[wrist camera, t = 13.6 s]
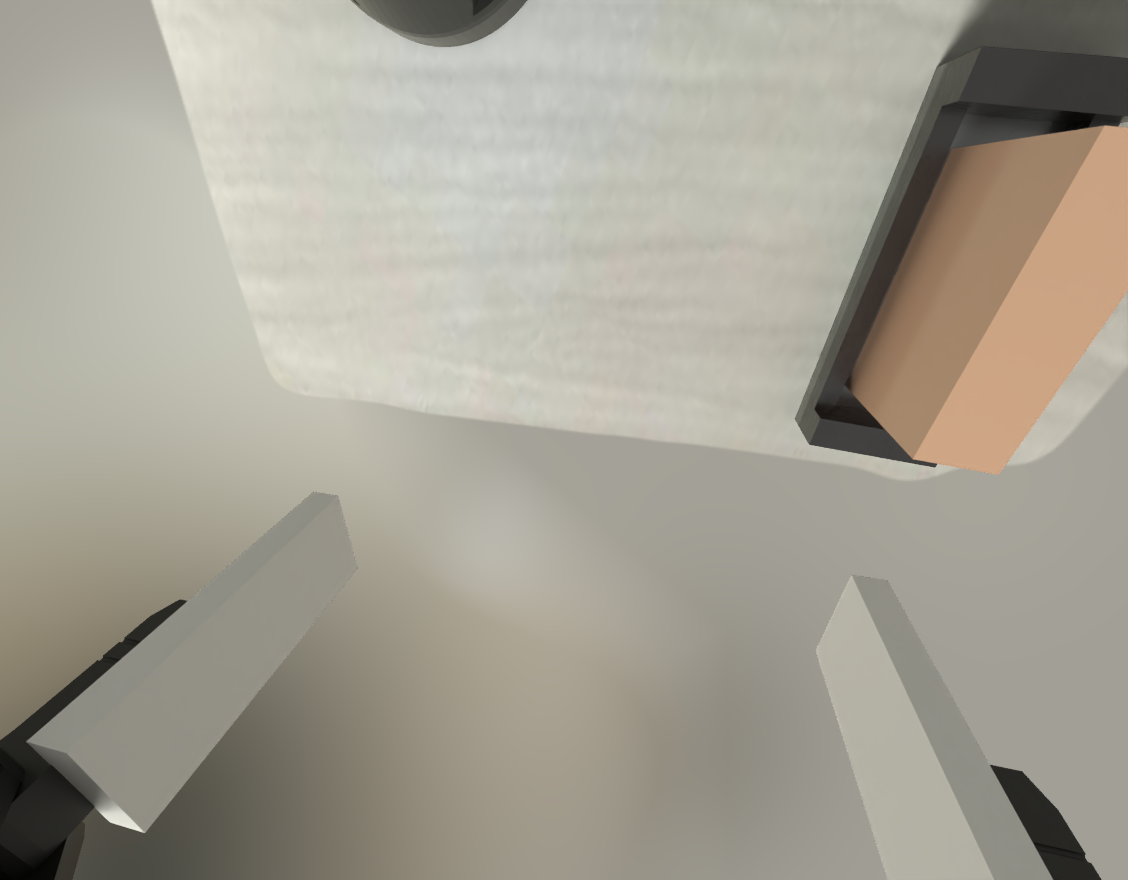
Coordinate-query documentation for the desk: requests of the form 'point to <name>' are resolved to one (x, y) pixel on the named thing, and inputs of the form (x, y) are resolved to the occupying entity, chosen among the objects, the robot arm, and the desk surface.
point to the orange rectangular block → (998, 294)
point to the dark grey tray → (945, 121)
